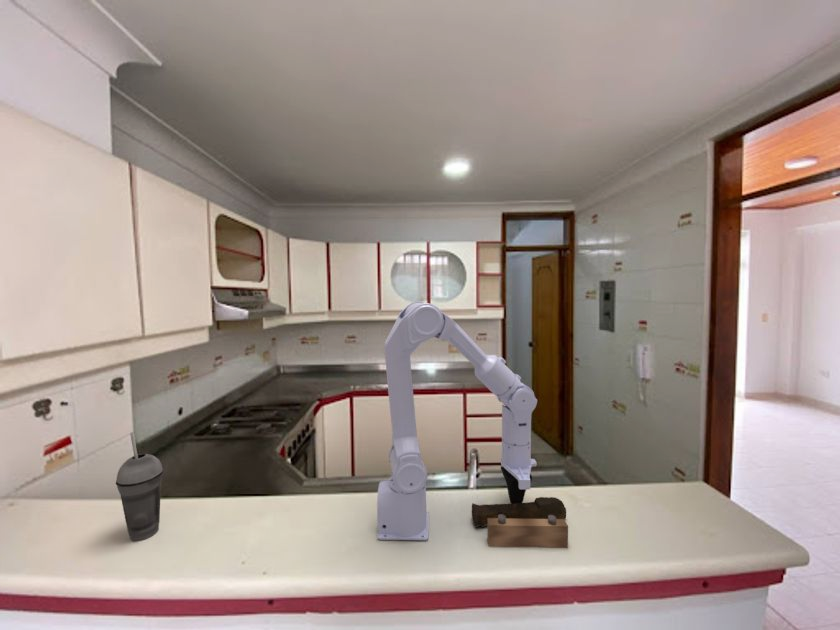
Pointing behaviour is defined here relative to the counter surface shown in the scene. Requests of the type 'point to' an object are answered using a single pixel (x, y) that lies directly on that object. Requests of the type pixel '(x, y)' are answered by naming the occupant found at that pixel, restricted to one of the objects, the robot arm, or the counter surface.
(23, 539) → the counter surface
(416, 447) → the robot arm
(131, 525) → the beverage cup
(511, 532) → the stop rail
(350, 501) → the counter surface
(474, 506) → the hand tool
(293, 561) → the counter surface
